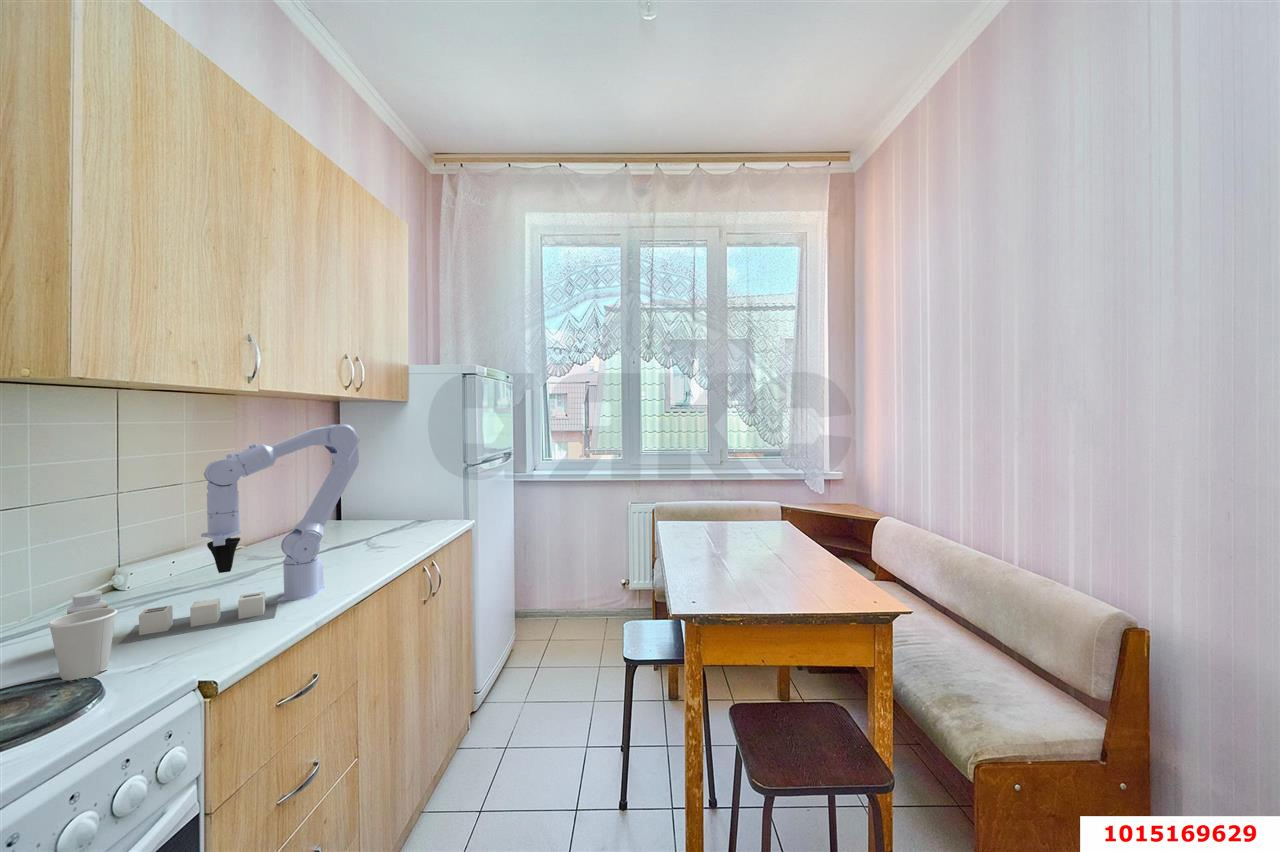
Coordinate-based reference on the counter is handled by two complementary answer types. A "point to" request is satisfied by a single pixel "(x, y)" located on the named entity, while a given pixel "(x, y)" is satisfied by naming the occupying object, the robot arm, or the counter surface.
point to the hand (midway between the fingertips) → (224, 571)
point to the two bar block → (155, 620)
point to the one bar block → (251, 605)
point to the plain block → (205, 612)
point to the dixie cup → (83, 642)
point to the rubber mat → (185, 625)
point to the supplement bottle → (87, 602)
